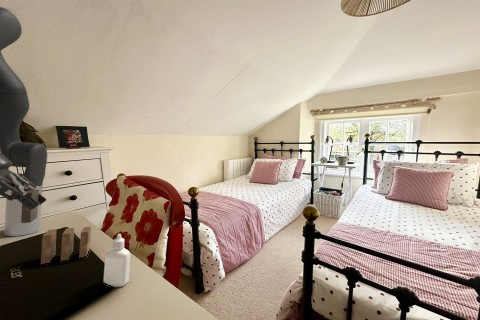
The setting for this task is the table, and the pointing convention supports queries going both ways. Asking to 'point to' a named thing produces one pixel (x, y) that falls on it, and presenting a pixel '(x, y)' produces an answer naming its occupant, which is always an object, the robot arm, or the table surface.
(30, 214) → the loose domino
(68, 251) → the domino
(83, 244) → the domino
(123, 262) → the eye dropper bottle
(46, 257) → the domino
